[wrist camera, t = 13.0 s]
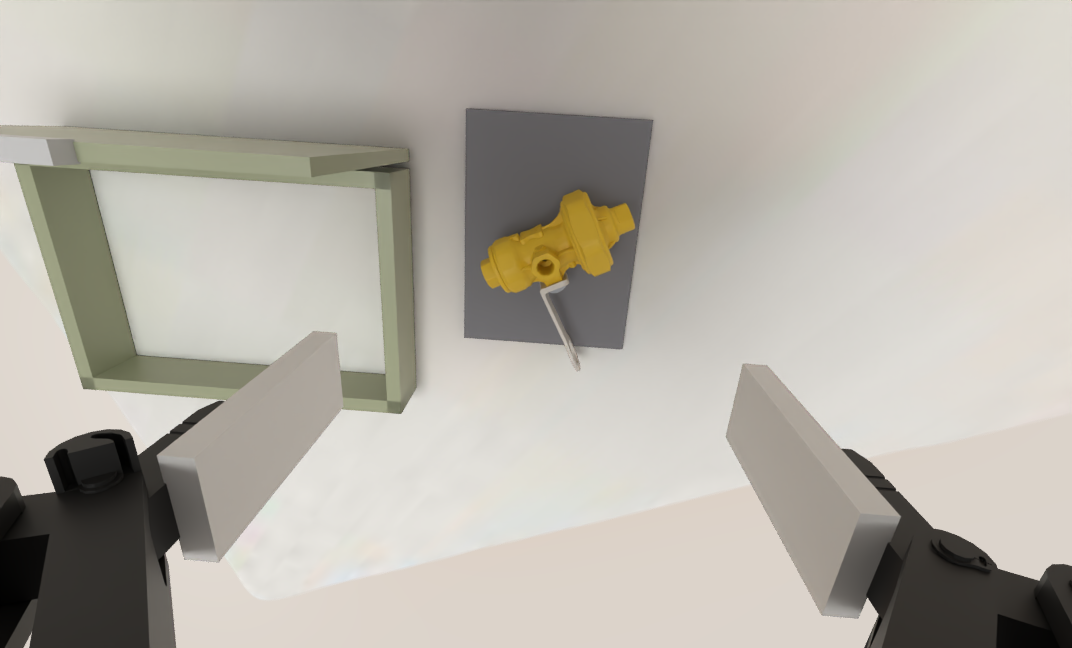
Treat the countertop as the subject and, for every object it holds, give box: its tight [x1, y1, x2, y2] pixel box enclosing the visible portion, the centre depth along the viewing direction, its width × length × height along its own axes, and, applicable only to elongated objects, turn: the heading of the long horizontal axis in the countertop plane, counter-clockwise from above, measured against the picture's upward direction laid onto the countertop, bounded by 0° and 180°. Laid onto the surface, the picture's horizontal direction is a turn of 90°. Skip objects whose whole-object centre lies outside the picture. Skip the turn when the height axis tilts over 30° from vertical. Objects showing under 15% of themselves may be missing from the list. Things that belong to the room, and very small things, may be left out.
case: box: [0, 125, 416, 414], centre depth 30 cm, size 18×24×15 cm
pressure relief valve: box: [480, 189, 635, 371], centre depth 33 cm, size 6×12×10 cm
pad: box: [464, 109, 653, 349], centre depth 35 cm, size 16×12×1 cm
